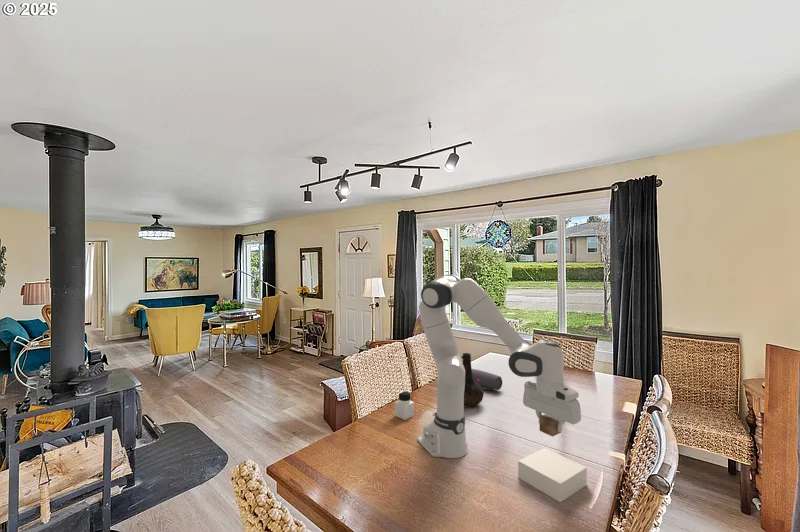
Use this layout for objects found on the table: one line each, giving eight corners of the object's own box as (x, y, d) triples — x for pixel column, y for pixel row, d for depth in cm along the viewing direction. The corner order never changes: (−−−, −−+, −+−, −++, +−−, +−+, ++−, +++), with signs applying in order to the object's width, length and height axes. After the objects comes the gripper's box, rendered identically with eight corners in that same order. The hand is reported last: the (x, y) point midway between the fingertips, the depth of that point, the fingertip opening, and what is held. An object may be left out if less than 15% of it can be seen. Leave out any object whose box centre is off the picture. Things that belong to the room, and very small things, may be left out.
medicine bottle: (414, 415, 176) (414, 392, 176) (405, 420, 171) (405, 396, 171) (404, 411, 181) (404, 388, 181) (394, 416, 176) (394, 392, 176)
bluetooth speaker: (463, 384, 223) (463, 369, 223) (472, 381, 230) (472, 366, 230) (494, 394, 207) (494, 377, 207) (502, 390, 213) (502, 374, 213)
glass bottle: (478, 398, 200) (478, 349, 200) (487, 411, 182) (487, 357, 182) (448, 398, 199) (448, 349, 200) (453, 411, 182) (453, 357, 182)
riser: (518, 477, 124) (518, 460, 124) (544, 463, 133) (544, 447, 133) (560, 502, 111) (560, 483, 111) (586, 485, 120) (586, 467, 120)
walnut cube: (539, 430, 122) (539, 416, 122) (548, 427, 125) (547, 413, 125) (552, 436, 118) (552, 421, 118) (561, 432, 121) (560, 418, 121)
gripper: (519, 381, 128) (519, 418, 128) (572, 398, 111) (573, 441, 111) (529, 378, 132) (530, 414, 132) (583, 394, 115) (583, 436, 115)
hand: (550, 427), depth 121 cm, fingers closed on walnut cube, 5 cm apart
